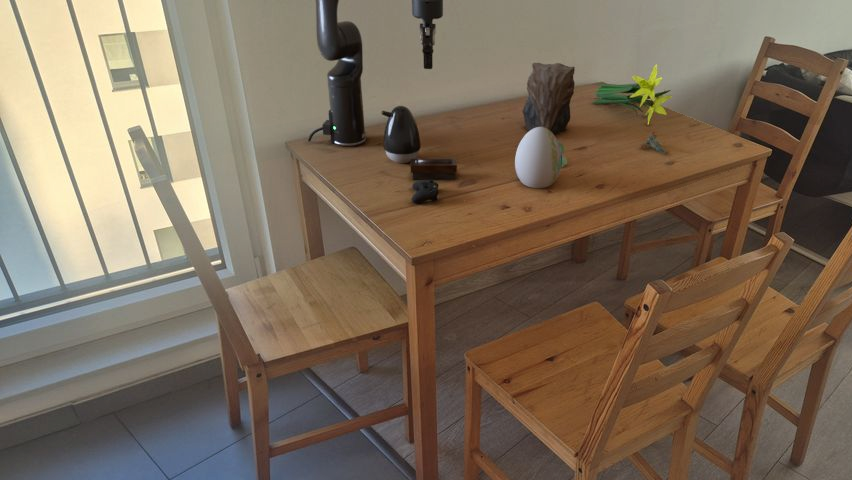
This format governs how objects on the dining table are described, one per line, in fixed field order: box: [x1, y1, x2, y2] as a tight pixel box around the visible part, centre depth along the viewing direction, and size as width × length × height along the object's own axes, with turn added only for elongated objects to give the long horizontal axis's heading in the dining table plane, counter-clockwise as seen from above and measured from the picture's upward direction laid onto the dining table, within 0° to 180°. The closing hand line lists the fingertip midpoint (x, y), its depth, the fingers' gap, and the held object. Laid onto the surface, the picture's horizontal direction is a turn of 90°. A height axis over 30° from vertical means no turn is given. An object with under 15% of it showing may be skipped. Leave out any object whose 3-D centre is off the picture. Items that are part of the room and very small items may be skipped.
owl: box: [522, 62, 576, 137], centre depth 209 cm, size 13×13×20 cm
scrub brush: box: [410, 157, 458, 181], centre depth 179 cm, size 12×4×5 cm, turn 95°
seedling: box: [558, 141, 568, 167], centre depth 192 cm, size 7×8×6 cm
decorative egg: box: [514, 127, 563, 189], centre depth 176 cm, size 12×12×15 cm
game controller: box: [410, 179, 440, 204], centre depth 169 cm, size 10×5×6 cm
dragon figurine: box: [639, 129, 667, 155], centre depth 202 cm, size 7×7×8 cm
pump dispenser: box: [380, 105, 422, 164], centre depth 185 cm, size 10×10×15 cm
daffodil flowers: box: [592, 64, 674, 125], centre depth 225 cm, size 17×15×35 cm
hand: (428, 63), depth 173 cm, fingers open, 8 cm apart
